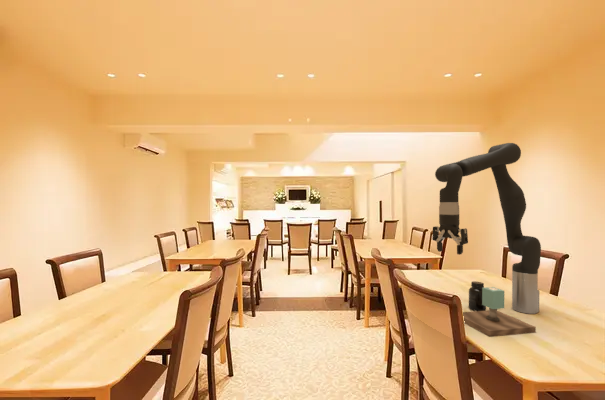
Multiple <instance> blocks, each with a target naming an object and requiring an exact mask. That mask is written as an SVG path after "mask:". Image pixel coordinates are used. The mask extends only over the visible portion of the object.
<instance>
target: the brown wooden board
mask: <svg viewBox="0 0 605 400" xmlns="http://www.w3.org/2000/svg"><path fill="white" fill-rule="evenodd" d="M463 316H464V321H465V323H464V324H465V325H467V326H469V327H470V328H473V329H475V330H477V331H479V332H480V333H482V334H484V335H486V336H487V337H498V336H499V337H500V336H501V337H502V336H510V335H521V334H532V333H536V331H537V328H536V326H534V325H532V324H530V323H527V322H525V321H523V320H520V319H519V318H516V317H513V316H510V315H508V314H506V313H504V312H502V311H500V310H498V309H491V308H489V307H488V310H487V309H486V311H474V310H473V311H463Z"/></svg>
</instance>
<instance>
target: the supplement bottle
mask: <svg viewBox="0 0 605 400" xmlns="http://www.w3.org/2000/svg"><path fill="white" fill-rule="evenodd" d="M484 284H485V283H484V282H482V281H477V280H476V281H475V280H473V281H471V284H470V286H471V287H469V289H468V308H469V310H471V311H473V312H474V311H487V307H486V306H484V305H482V288H485V285H484Z"/></svg>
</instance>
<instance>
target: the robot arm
mask: <svg viewBox="0 0 605 400" xmlns="http://www.w3.org/2000/svg"><path fill="white" fill-rule="evenodd" d="M521 151H522V150H521V148H520V146H519V144H517V143H515V142H506V143H502V144H497V145H493V146H491V147H489V149H488V151H487V153H482V154H478V155H477V154H476V155H473V156H470V157H466V158H464V159H461V160H458V161H455V162H451V163H447V164H444V165H441V166H439V167H437V169H436V170H435V173H434V176H435V178H436V180H437V181H438V182H440V183H441V182H442V183H445V187H443V188H441V189H440V190H439V206H438V223H439V226H438V225H436V226H432V241H434V242H436V249H437V252H440V253H441V252H443V249H444V247H443V241H444V240H445V239H446V238H447V239H452V240H453V241H454V242H455V243H456V254H457V255H462V254H463V253H464V246H465V245H468V243H469V239H468V238H469V237H468V229H467V228H460V205H459V191H460V188H461V185H462V180H463V177H467V176H468V177H469V176H471V175H474V174H477V173H480V172H482V171H484V170H487V169H491V172H492V174H493V177H494V180H495V184H496V187H497V192H498V198H499V202H500V207H501V210H502V214H503V219H504V220H503V221H504V225H505V231H506V242H507V247H508V250H509V252H510V253H511V254H513V255H516V256H521V261H520V262H516V263H513V264H512V266H511V270H512V272H511V276H512V277H511V279H512V280H511V299H512V300H511V310H513V311H516V312H519V313H522V314H528V315H529V314H530V315H534V314H535V315H536V314H538V313H539V312H540V290H539V282H538V281H539V269H540V266H541V255H542V245H541V242H540V240H539V239H538V238H537V237H536V236H530V235H529V236H528V235H523V232H522V227H521V222H522V220H523V217H524V215H525V213H526V211H527V210H526V209H527V202H526V201H527V200H526V197H525V193H524V191H523V189H522V188H521V187H520V186H519V184H518V183H517V182H516V181H515V180H514V179H513V178H512V177H511V175H510V173H509V171H508V168H507V165H512V164H514V163H516V162H518V161H519V160H520V158H521V156H522V155H521V154H522V152H521ZM439 232H440V233H439Z"/></svg>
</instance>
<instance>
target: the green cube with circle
mask: <svg viewBox="0 0 605 400" xmlns="http://www.w3.org/2000/svg"><path fill="white" fill-rule="evenodd" d="M482 305H484V306H486V308H488V309H489V308H491V309H497V310H500V309H502V310H503V309H505V290H503V289H500V288H497V287H494V286H488V287H484V288H482Z"/></svg>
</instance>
